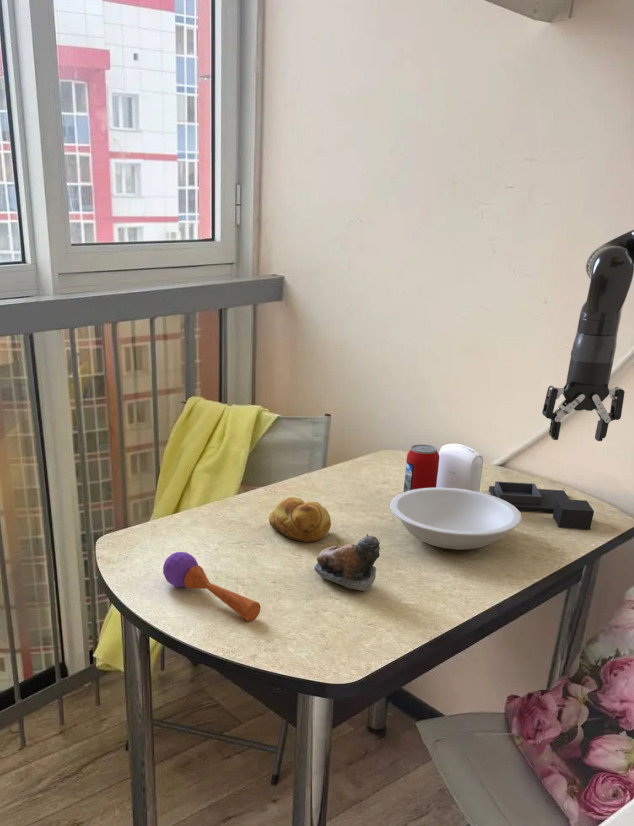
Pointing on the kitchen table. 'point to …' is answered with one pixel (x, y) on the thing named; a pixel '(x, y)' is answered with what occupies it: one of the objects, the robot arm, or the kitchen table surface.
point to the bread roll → (300, 519)
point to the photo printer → (459, 467)
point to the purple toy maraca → (205, 584)
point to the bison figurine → (350, 563)
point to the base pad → (527, 496)
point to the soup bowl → (454, 516)
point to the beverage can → (421, 467)
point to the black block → (573, 514)
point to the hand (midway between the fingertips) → (576, 439)
